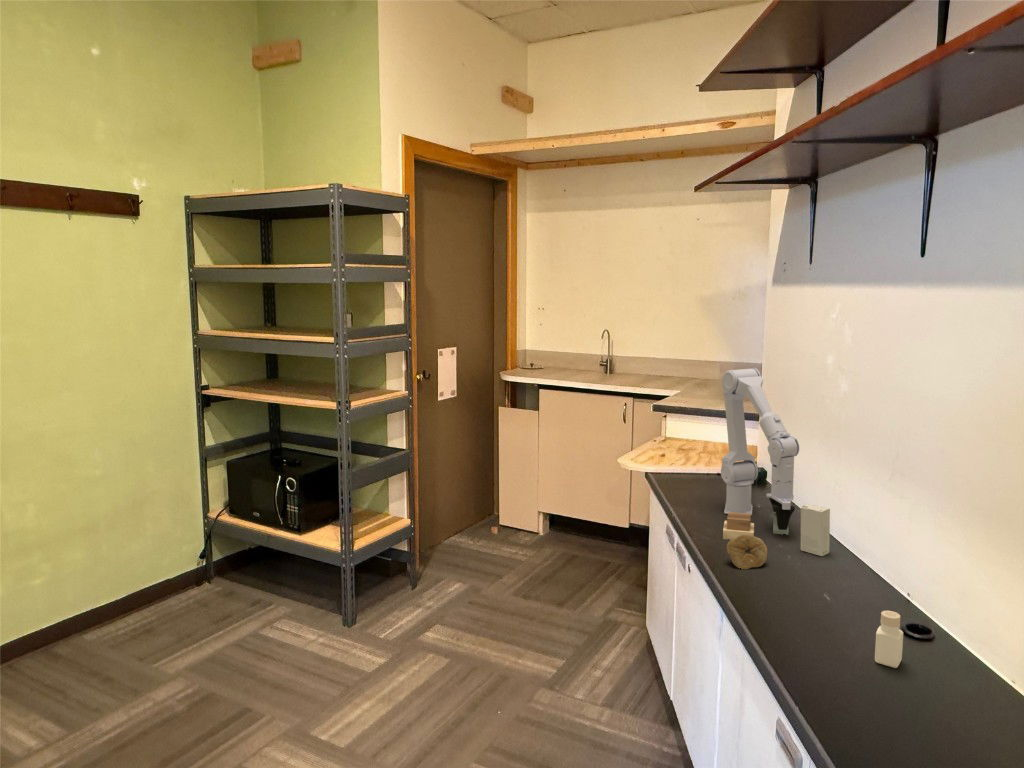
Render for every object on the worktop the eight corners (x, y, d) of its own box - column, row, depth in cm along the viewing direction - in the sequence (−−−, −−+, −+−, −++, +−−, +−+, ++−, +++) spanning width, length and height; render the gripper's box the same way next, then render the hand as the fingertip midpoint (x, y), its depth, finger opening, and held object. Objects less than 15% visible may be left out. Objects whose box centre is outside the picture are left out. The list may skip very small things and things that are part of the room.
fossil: (721, 540, 181) (756, 528, 182) (718, 547, 184) (752, 536, 186) (739, 572, 175) (775, 559, 177) (735, 579, 179) (770, 567, 181)
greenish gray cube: (773, 528, 204) (773, 511, 203) (788, 530, 202) (788, 513, 202) (773, 533, 200) (773, 516, 199) (788, 534, 199) (789, 517, 198)
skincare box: (829, 552, 186) (831, 508, 184) (821, 557, 183) (823, 512, 181) (807, 546, 190) (809, 502, 188) (798, 550, 187) (800, 506, 186)
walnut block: (728, 522, 203) (728, 511, 202) (750, 524, 201) (750, 513, 200) (726, 529, 197) (727, 518, 197) (749, 531, 195) (750, 520, 195)
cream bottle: (878, 654, 137) (881, 607, 135) (902, 660, 134) (905, 613, 133) (873, 663, 134) (876, 615, 132) (897, 670, 131) (900, 621, 130)
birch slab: (724, 530, 205) (724, 520, 204) (753, 533, 202) (754, 523, 201) (722, 540, 197) (723, 530, 197) (753, 543, 194) (753, 532, 194)
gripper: (763, 472, 207) (762, 517, 209) (771, 486, 193) (770, 534, 195) (789, 472, 205) (787, 517, 207) (799, 487, 191) (797, 535, 193)
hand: (780, 526), depth 201 cm, fingers closed on greenish gray cube, 4 cm apart
